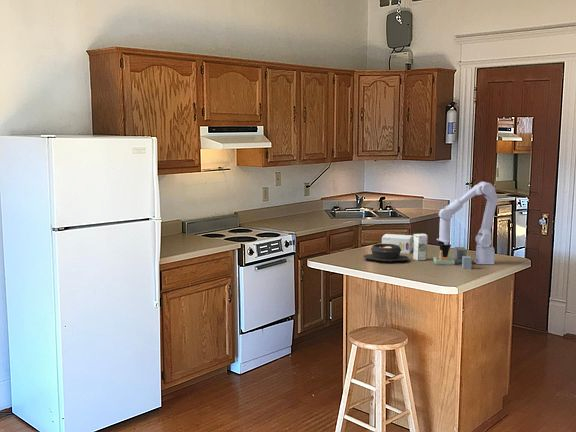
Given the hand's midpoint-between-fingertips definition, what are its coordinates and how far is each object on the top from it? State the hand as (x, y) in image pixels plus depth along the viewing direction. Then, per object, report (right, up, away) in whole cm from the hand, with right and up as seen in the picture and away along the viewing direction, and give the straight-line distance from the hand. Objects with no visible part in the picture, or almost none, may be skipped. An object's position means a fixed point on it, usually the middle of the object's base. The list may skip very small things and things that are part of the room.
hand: (444, 255), depth 341 cm
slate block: (+9, -6, -12) cm, 16 cm away
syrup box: (-11, -3, +10) cm, 15 cm away
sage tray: (0, -4, 0) cm, 4 cm away
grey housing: (+9, -4, +2) cm, 10 cm away
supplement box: (-19, 0, +36) cm, 41 cm away
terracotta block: (0, -3, 0) cm, 4 cm away
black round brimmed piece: (-31, -3, +7) cm, 32 cm away
